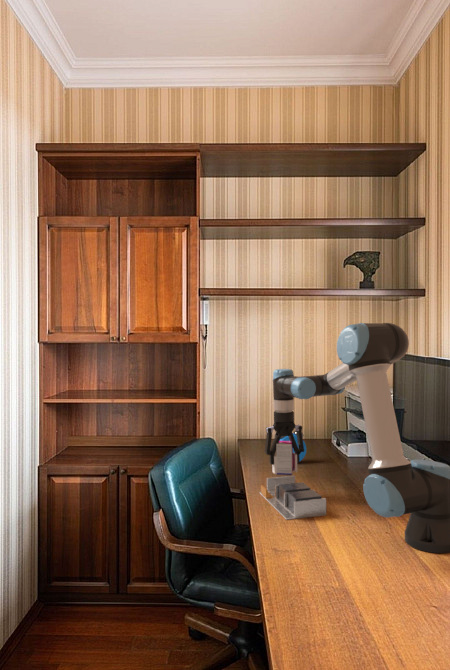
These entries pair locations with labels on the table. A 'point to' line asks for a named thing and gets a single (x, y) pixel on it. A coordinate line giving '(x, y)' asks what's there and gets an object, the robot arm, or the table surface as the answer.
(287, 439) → the alarm clock
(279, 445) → the supplement box
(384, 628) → the table surface
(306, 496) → the rack
